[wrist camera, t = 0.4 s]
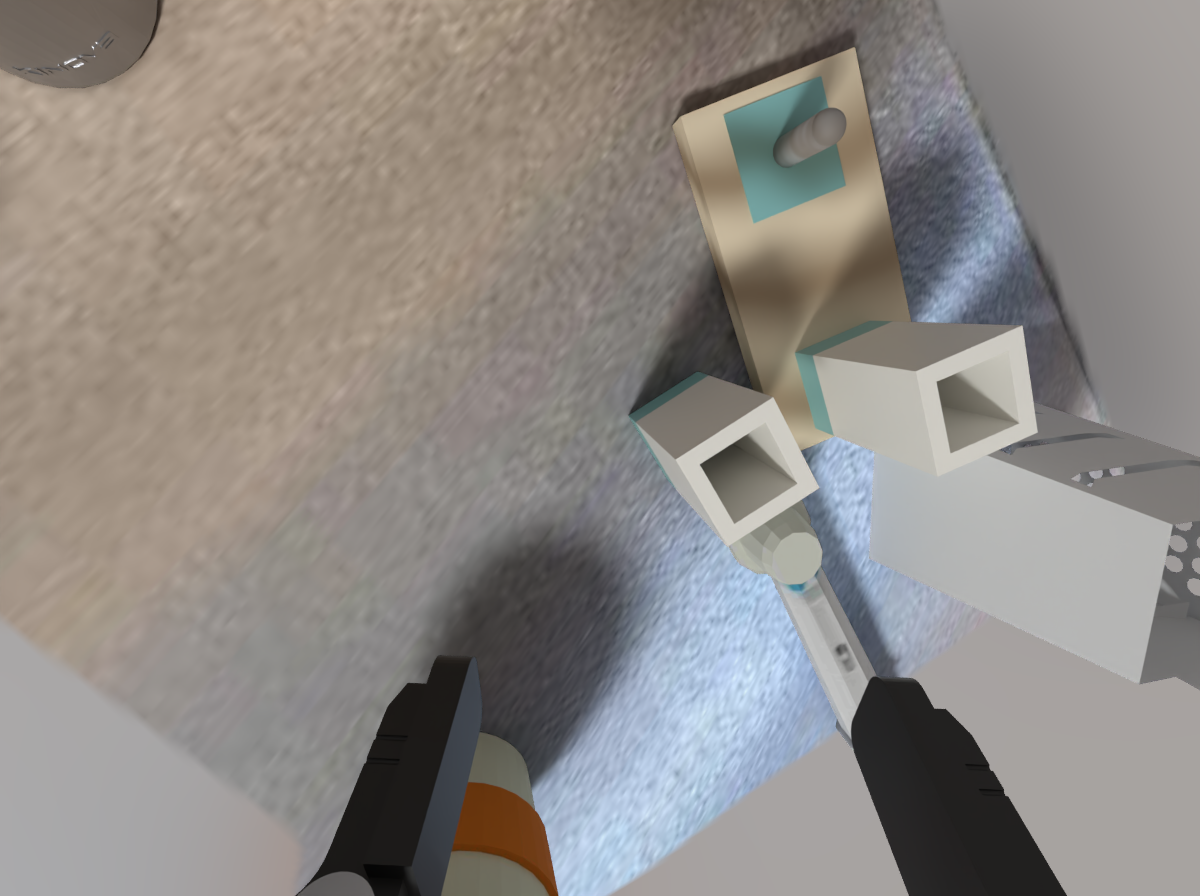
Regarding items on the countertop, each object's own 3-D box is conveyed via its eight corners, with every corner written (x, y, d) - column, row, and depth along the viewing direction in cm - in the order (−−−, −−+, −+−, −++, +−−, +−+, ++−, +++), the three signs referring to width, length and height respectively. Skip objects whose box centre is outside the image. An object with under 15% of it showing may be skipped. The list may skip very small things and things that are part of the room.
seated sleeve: (794, 352, 32) (915, 371, 22) (870, 320, 32) (1022, 325, 22) (815, 428, 33) (937, 476, 24) (887, 397, 33) (1037, 432, 24)
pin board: (672, 125, 29) (713, 77, 23) (838, 59, 29) (921, -5, 23) (772, 452, 35) (826, 482, 29) (909, 392, 35) (991, 410, 29)
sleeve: (628, 415, 33) (675, 459, 23) (697, 371, 33) (773, 397, 23) (667, 480, 34) (727, 546, 25) (733, 437, 34) (819, 487, 25)
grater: (1017, 396, 37) (1569, 492, 17) (1000, 537, 39) (1460, 753, 20) (876, 414, 35) (1305, 538, 16) (868, 558, 38) (1227, 810, 19)
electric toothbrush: (871, 793, 39) (746, 554, 28) (817, 718, 45) (697, 498, 34) (933, 755, 39) (831, 502, 28) (870, 685, 45) (767, 455, 34)
